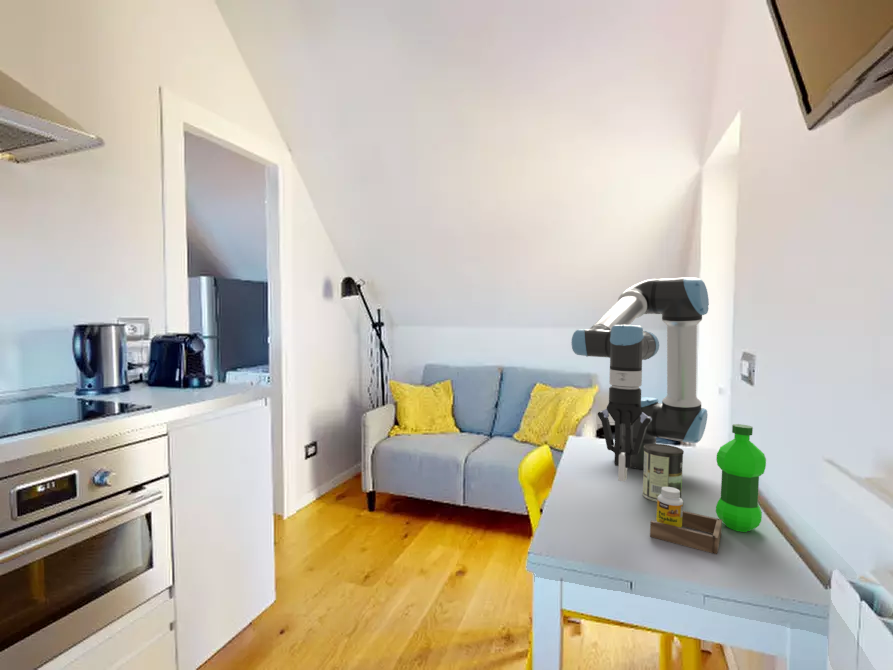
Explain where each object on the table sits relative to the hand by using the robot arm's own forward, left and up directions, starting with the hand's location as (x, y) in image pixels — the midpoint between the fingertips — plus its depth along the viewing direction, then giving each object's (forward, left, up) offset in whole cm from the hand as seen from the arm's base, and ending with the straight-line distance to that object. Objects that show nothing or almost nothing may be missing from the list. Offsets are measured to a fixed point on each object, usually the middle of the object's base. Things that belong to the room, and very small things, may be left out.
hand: (622, 479), depth 119 cm
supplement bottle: (+1, +11, -10) cm, 15 cm away
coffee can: (-22, +6, -10) cm, 25 cm away
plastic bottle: (-12, +25, -10) cm, 29 cm away
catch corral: (+1, +15, -10) cm, 18 cm away
